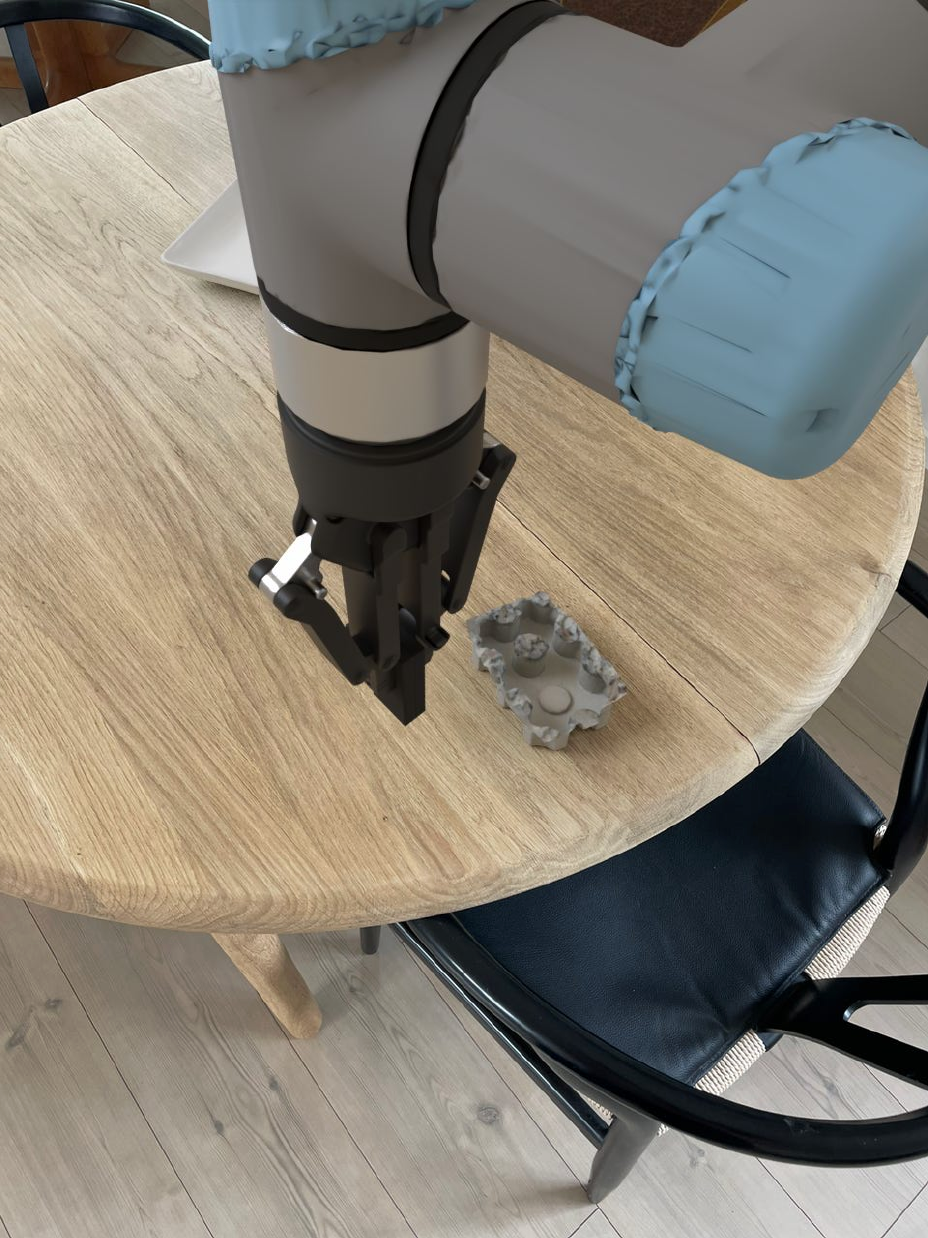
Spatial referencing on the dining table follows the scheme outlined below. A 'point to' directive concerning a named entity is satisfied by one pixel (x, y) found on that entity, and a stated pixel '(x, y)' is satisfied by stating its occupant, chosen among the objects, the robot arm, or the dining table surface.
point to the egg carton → (544, 669)
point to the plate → (217, 245)
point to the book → (657, 16)
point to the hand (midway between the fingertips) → (399, 702)
